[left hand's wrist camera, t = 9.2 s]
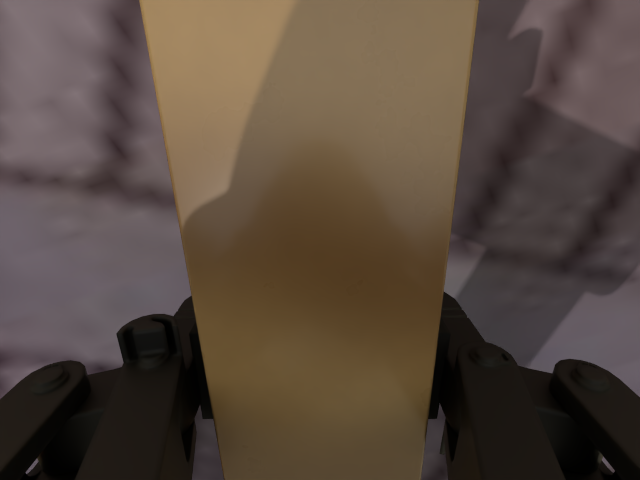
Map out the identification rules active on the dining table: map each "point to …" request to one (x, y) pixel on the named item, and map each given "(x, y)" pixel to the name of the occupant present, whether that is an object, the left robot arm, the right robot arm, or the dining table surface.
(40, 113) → the dining table surface
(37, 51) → the dining table surface
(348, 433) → the beam
